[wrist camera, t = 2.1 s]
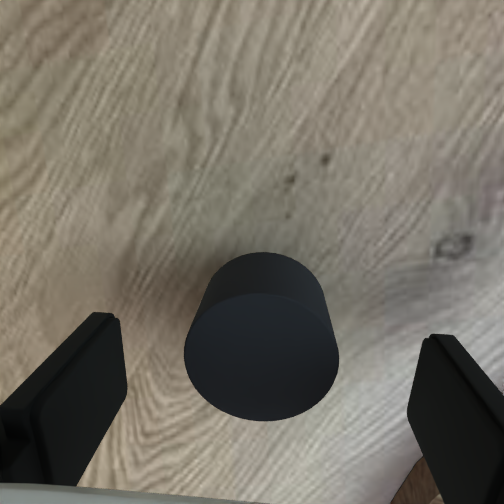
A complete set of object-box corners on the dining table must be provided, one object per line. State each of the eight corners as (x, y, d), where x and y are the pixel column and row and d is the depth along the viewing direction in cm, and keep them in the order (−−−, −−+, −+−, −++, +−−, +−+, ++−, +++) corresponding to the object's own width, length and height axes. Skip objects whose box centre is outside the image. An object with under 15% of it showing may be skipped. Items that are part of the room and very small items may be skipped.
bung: (190, 282, 15) (151, 355, 10) (268, 213, 14) (264, 261, 9) (262, 350, 16) (256, 444, 11) (342, 291, 15) (371, 370, 10)
